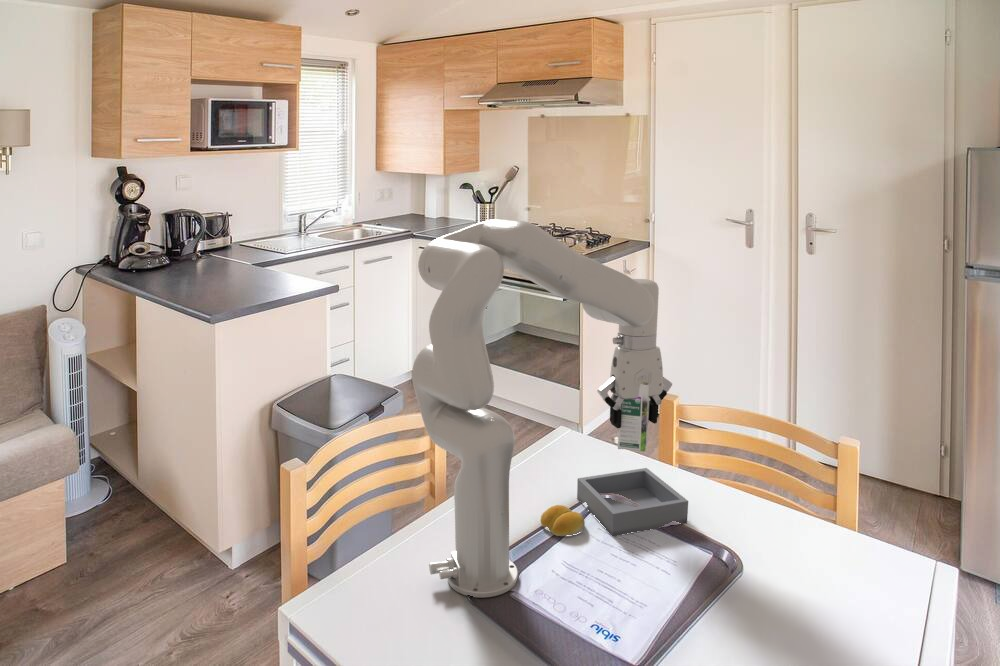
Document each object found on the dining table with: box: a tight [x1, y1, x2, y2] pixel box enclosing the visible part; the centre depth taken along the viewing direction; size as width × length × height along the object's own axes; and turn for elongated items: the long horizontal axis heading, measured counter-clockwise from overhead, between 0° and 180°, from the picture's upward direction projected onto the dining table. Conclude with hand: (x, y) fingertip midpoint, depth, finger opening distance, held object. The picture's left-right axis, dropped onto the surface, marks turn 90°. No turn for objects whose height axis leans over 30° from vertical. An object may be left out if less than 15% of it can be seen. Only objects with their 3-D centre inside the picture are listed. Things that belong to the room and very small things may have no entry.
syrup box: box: [617, 383, 650, 453], centre depth 146 cm, size 6×6×14 cm
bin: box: [576, 467, 689, 537], centre depth 151 cm, size 17×17×5 cm
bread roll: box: [540, 504, 586, 537], centre depth 144 cm, size 8×9×4 cm
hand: (633, 423), depth 147 cm, fingers closed on syrup box, 7 cm apart
